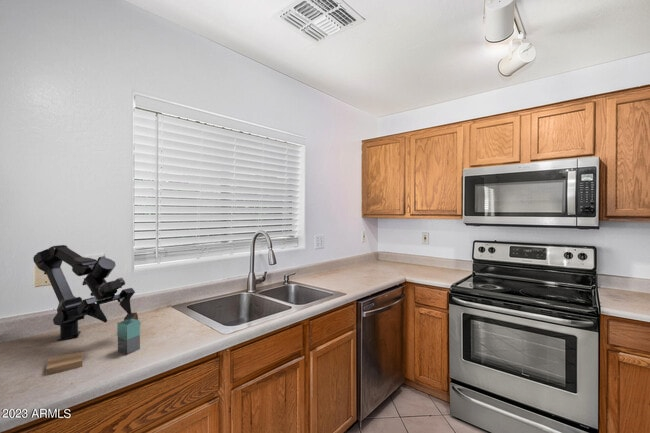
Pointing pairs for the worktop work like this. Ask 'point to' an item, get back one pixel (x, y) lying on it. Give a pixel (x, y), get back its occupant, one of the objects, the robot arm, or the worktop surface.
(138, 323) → the teal block grey base
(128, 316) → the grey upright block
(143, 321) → the worktop surface
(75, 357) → the stand
